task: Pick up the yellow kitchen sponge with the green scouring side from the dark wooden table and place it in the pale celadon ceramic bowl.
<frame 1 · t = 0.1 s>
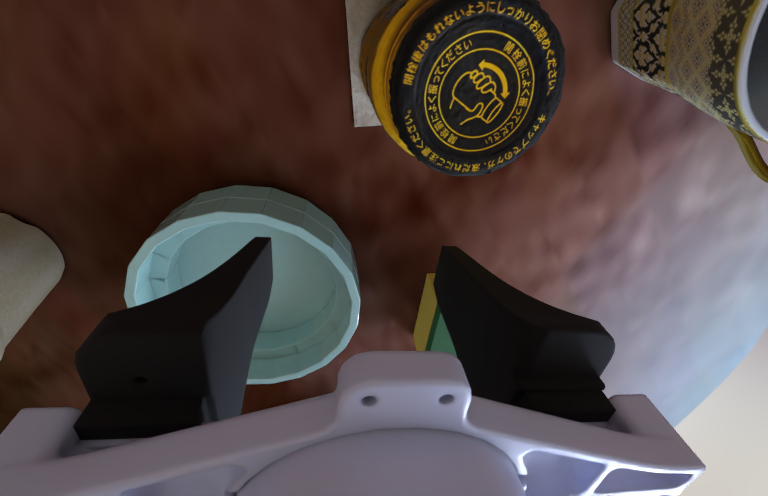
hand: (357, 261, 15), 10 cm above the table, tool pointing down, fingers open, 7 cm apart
bowl: (261, 271, 27), on the table
ceramic cup: (658, 41, 21), on the table
flower pot: (13, 249, 24), on the table
condiment: (412, 44, 20), on the table
sponge: (444, 306, 30), on the table
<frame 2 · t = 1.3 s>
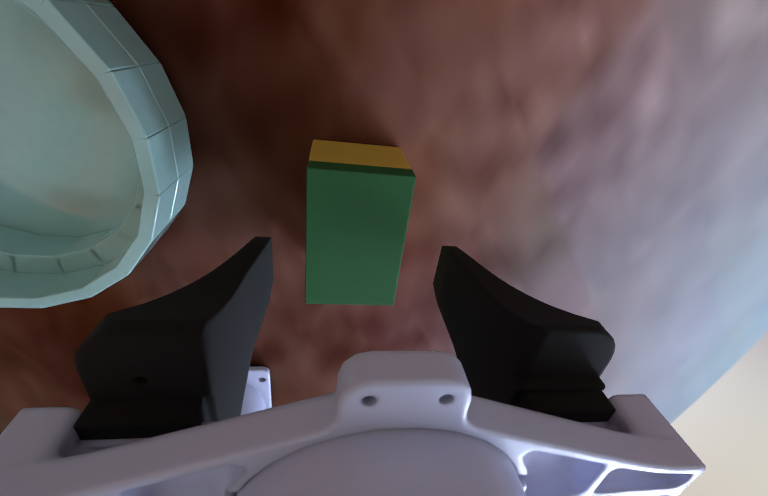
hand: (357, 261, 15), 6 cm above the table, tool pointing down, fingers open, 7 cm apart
bowl: (27, 123, 16), on the table
sponge: (352, 205, 20), on the table
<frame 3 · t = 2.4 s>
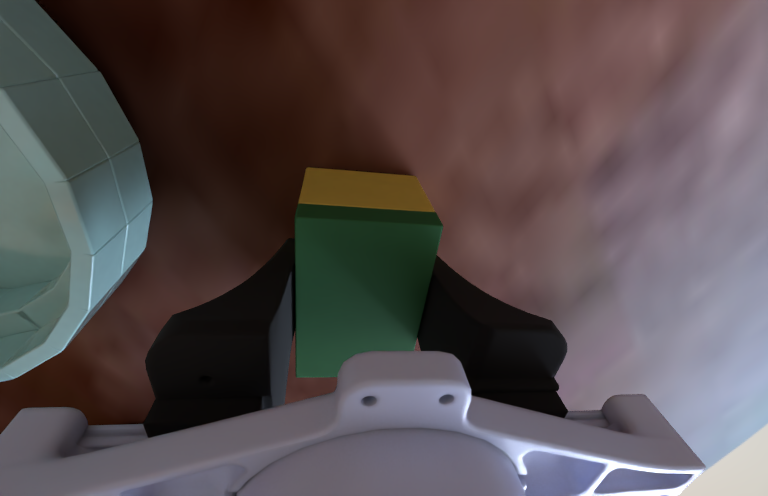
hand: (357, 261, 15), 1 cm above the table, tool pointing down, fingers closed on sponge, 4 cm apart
sponge: (355, 244, 16), on the table, touching gripper
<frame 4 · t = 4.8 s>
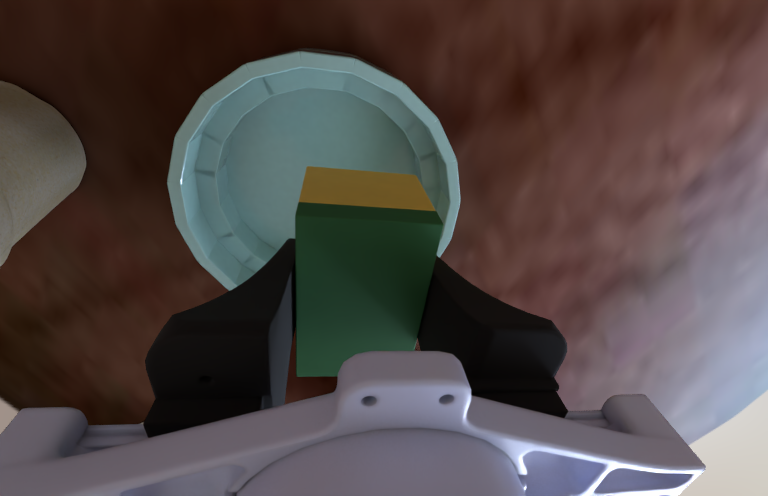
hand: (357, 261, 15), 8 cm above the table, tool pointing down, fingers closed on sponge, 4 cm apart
bowl: (325, 181, 22), on the table
flower pot: (22, 140, 19), on the table
sponge: (355, 243, 16), point 7 cm above the table, touching gripper
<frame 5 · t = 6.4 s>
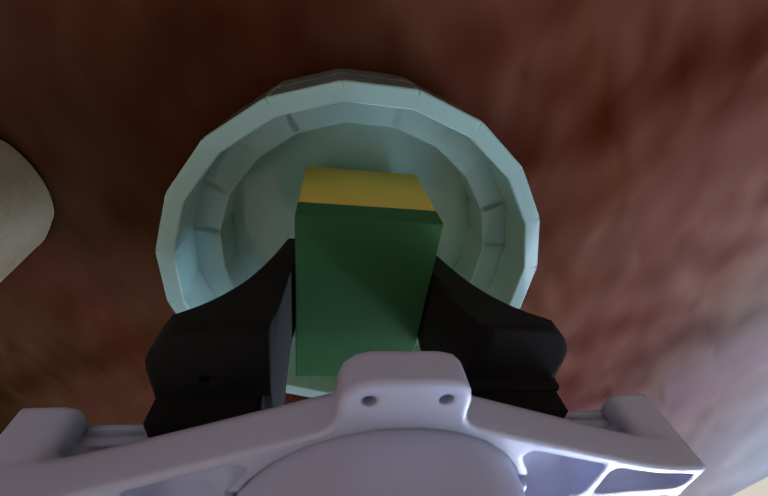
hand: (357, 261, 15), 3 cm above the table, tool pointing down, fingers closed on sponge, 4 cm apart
bowl: (355, 228, 17), on the table
sponge: (355, 243, 16), point 2 cm above the table, touching gripper
when the fingers open (2 cm above the table, at t = 7.1 s): sponge stays where it is, resting on bowl.
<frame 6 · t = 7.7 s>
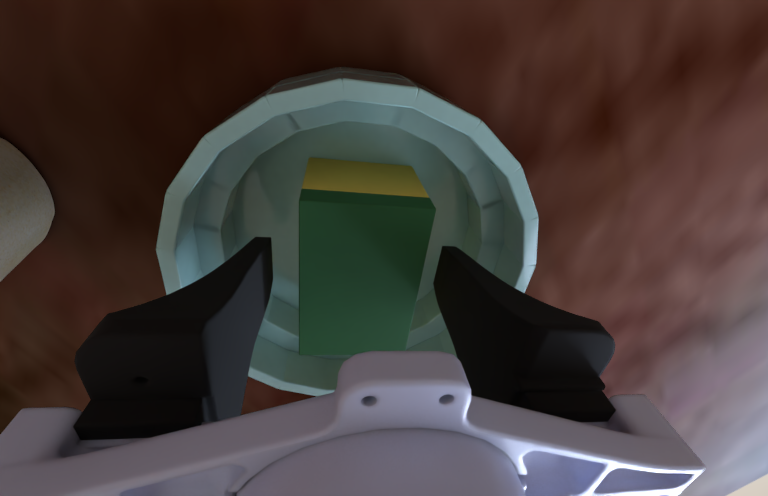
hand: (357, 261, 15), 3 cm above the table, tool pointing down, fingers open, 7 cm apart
bowl: (354, 227, 18), on the table
sponge: (355, 232, 17), point 1 cm above the table, touching bowl
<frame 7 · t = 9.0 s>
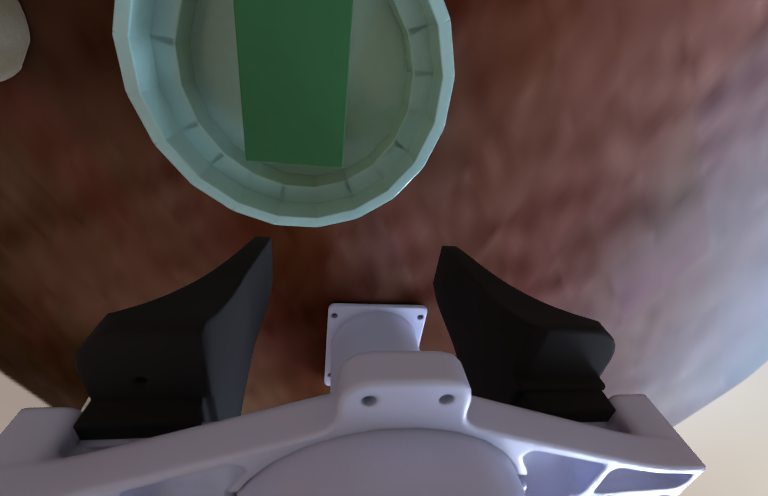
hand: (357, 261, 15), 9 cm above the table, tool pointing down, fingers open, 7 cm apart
bowl: (304, 74, 19), on the table
sponge: (303, 74, 19), point 1 cm above the table, touching bowl
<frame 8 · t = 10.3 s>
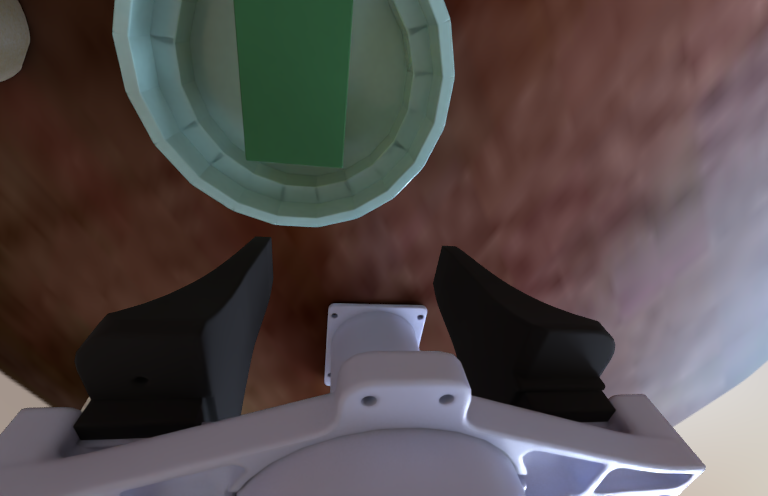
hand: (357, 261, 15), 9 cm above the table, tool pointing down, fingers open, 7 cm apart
bowl: (304, 74, 19), on the table
sponge: (303, 74, 19), point 1 cm above the table, touching bowl
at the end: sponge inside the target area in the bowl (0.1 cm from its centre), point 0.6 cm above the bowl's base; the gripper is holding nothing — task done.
